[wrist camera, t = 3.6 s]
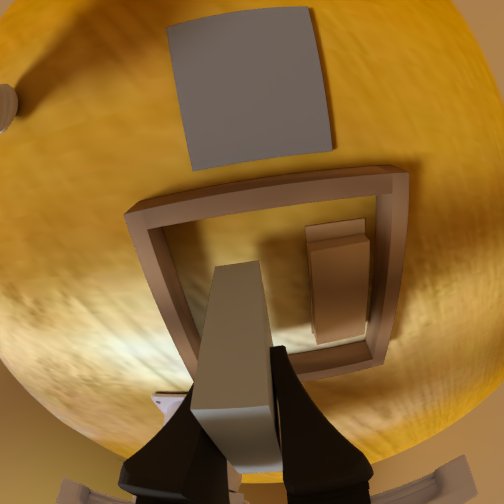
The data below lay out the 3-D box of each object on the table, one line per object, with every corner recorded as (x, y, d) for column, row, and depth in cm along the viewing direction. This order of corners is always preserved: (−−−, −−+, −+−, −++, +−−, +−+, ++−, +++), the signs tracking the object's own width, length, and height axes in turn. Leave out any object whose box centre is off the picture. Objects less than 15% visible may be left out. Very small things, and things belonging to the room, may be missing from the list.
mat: (330, 150, 13) (332, 151, 13) (193, 170, 13) (192, 171, 13) (306, 8, 9) (307, 6, 9) (168, 28, 10) (166, 27, 9)
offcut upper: (359, 324, 18) (364, 333, 17) (314, 334, 18) (317, 344, 18) (363, 233, 15) (369, 240, 14) (306, 243, 15) (310, 251, 14)
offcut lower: (355, 315, 19) (359, 324, 18) (309, 324, 19) (312, 333, 18) (358, 212, 15) (364, 218, 15) (302, 220, 16) (305, 227, 15)
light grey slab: (274, 354, 17) (285, 470, 10) (240, 358, 17) (238, 473, 10) (258, 260, 14) (268, 405, 6) (215, 266, 14) (190, 409, 7)
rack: (375, 346, 19) (383, 364, 18) (201, 371, 20) (198, 391, 19) (391, 164, 13) (409, 172, 11) (138, 201, 14) (123, 214, 12)
